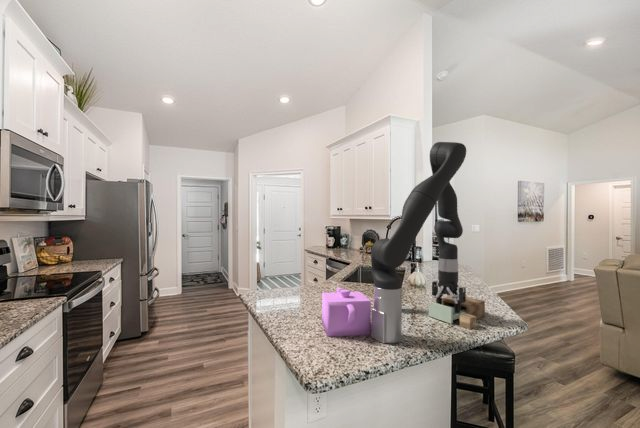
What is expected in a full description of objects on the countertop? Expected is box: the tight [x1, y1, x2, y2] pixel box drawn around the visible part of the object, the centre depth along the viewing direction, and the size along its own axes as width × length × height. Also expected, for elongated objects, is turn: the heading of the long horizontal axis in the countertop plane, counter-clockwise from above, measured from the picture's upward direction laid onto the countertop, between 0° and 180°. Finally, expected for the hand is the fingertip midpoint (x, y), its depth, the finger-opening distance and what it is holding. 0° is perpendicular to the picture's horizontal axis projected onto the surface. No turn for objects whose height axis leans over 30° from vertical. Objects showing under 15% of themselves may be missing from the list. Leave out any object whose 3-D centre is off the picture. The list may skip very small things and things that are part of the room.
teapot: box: [321, 286, 372, 338], centre depth 106 cm, size 15×25×14 cm, turn 8°
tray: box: [428, 301, 466, 325], centre depth 117 cm, size 12×10×6 cm
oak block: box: [459, 314, 477, 330], centre depth 108 cm, size 4×4×4 cm
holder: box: [441, 296, 486, 320], centre depth 122 cm, size 12×12×6 cm
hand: (448, 309), depth 117 cm, fingers open, 7 cm apart
